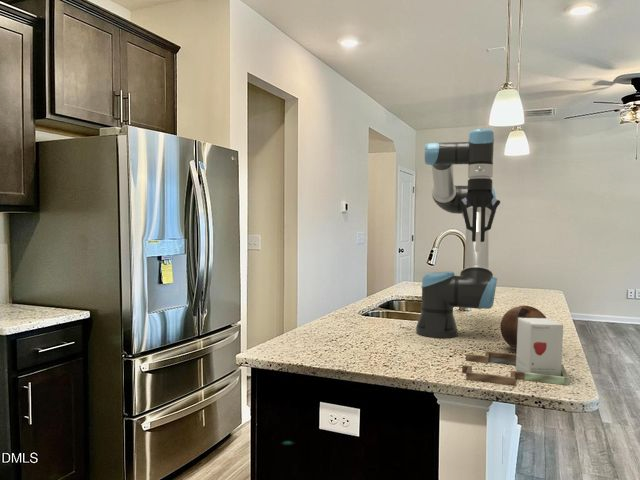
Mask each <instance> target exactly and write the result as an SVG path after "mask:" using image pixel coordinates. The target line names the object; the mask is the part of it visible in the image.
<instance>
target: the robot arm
mask: <svg viewBox="0 0 640 480" xmlns="http://www.w3.org/2000/svg"><path fill="white" fill-rule="evenodd" d="M468 137H469V138H468V141H459V142H458V141H457V142H456V141H455V142H453V141H452V142H437V141H436V142H428V143H426V144H425V147H424V163H425V164H426V165H429V166H431V171H432V172H431V173H432V181H433V187H432V189H431V196H432V199H433V202H434V203H435V204H436V205H437V206H438V207H439V208H440V209H441V210H444V211H445V212H448V213H450V214H461V216H462V218H463V219H464V223H465V243H464V244H465V246H464V269H462V270H461V271H460V274H459V275H455V272H454V271H435V272H430V273H429V272H428V273H426V274H424V275H423V276H422V281H421V313H420V315H419V318H418V321H417V323H416V326H415V332H416V334H418V335H420V336H424V337H428V338H437V339H439V338H440V339H444V338H445V339H446V338H448V339H449V338H455V337H457V336H458V327H457V323H456V320H455V316H454V308H463V309H465V308H467V309H478V310H481V309H483V310H487V309H488V310H490V309H491V308H492V307H494V301H495V296H496V291H497V290H496V289H497V283H498V278H497V277H495V276H494V275H493V274H494V273H493V271H492V270H490V269H489V231H490V230H491V229H492V224H493V223H494V220H495V217H496V216H495V215H496V213H497V209H498V207H499V206H500V204H501V200H499V199H497V197H496V196H497V195H496V192H495V189H494V188H493V179H491V178H492V177H493V175H494V144H495V143H494V142H495V135H494V130H492V129H489V128H478V129H477V128H476V129H472V130H471V131H470V132H469V136H468ZM454 165H468V166H467V168H468V169H467V177H468V178H469V179H467V185H454Z"/></svg>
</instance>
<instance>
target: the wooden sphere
mask: <svg viewBox="0 0 640 480" xmlns="http://www.w3.org/2000/svg"><path fill="white" fill-rule="evenodd" d="M518 318H547V317H546V315H545V314H544V313H543V312H542V311H541V310H539V309H537V308H536V307H534V306H529V305H518V306H514V307H511V308H510V309H509V310H507V311H506V313H505V314H504V315H503V316H502V318H501V321H500V334H501V336H502V338H503V340H504V341H505V343H506V344H507V345H508V346H510V347H511V348H512V349H514V350H515V351H517V332H518Z"/></svg>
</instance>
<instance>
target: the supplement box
mask: <svg viewBox="0 0 640 480" xmlns="http://www.w3.org/2000/svg"><path fill="white" fill-rule="evenodd" d="M563 341H564V324H563V323H560V322H558V321H555V320H553V319H550V318H547V317H546V318H518V332H517V350H516V354H517V355H516V365H515V369H516V371H518V372H527V373H535V374H544V375H553V376H561V366H562V364H563V361H562V360H563Z"/></svg>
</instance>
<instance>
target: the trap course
mask: <svg viewBox="0 0 640 480" xmlns="http://www.w3.org/2000/svg"><path fill="white" fill-rule="evenodd" d="M516 355H517V353H516V354H514V353H507V352H496V351H485V355H481V354H473V353H472V354H471V353H465V361H466V362H467V361H468V362H476V363H485V364H489V363H492V364H493V363H494V364H499V365H501V364H502V365H510V366H516ZM461 366H462V367H461V368H462V369H461V371H462V374H463V373H465V374H466V377H465V378H466V380H469V381H476V382H485V383H493V384H501V385H508V386H516V380H521V379H523V380H522V381H529V380H531V381H530V382H537V381H538V382H537V383H548V384H554V385H555V384H556V385H563V386H570V385H569V384H570V383H569V380H570V378H569V375H568V373H567V370H566V369H565V367H564V364H563V363H562V366H561V376H553V375H544V374H535V373H527V372H520V371H519V370H510V376H507V375H506V376H505V375H498V374H490V373H482V372H481V373H480V372H474V371H473V366H472V365H466V364H465V365H464V364H462V365H461Z"/></svg>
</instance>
